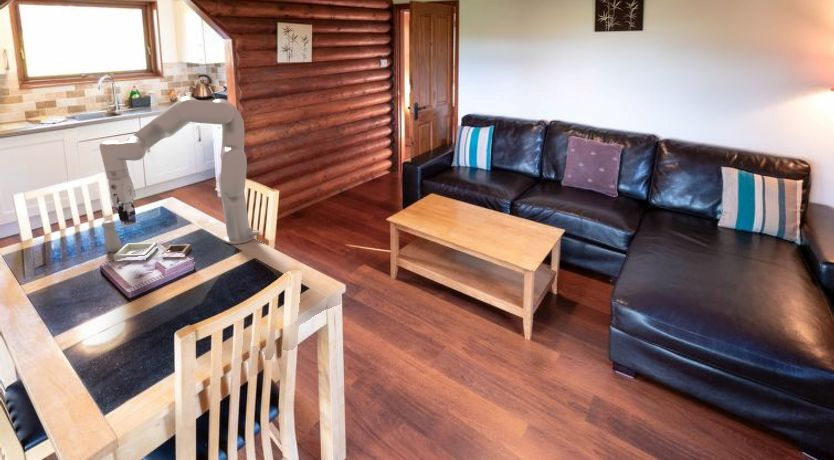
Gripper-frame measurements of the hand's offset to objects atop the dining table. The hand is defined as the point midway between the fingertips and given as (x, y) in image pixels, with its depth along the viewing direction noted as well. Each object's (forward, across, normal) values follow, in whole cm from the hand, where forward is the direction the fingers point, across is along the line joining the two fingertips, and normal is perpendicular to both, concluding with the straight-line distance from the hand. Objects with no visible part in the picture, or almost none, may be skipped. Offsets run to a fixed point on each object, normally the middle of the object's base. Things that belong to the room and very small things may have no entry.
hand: (127, 217), depth 194 cm
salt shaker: (+17, +5, +11) cm, 21 cm away
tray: (+17, 0, 0) cm, 17 cm away
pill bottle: (+3, 0, 0) cm, 3 cm away
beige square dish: (+16, 0, -16) cm, 23 cm away
